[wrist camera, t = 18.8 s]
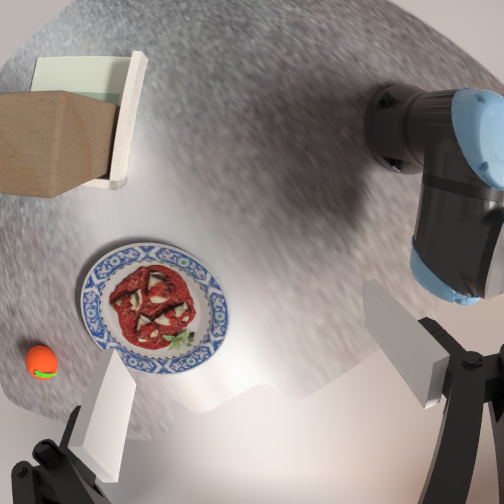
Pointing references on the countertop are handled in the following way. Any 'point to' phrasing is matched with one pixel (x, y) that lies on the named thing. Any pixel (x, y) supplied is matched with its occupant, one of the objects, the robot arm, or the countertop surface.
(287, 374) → the countertop surface
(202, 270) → the ceramic plate
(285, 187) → the countertop surface
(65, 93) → the wooden block
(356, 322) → the countertop surface
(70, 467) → the robot arm
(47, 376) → the clementine
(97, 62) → the corner arena
